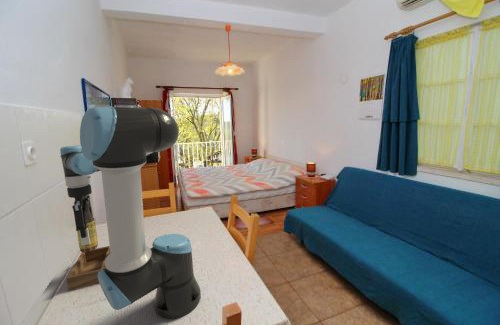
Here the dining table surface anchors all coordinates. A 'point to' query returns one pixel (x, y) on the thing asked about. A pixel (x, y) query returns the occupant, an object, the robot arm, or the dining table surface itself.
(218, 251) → the dining table surface
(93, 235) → the sauce bottle
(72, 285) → the caddy
